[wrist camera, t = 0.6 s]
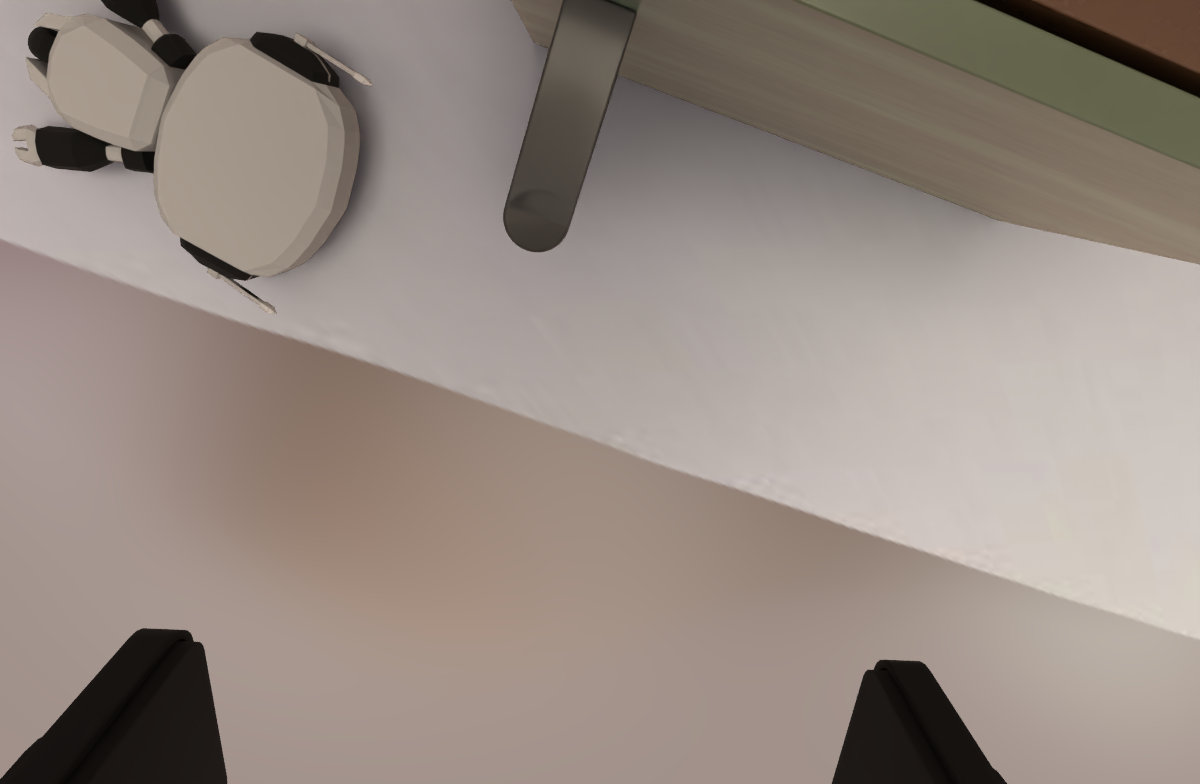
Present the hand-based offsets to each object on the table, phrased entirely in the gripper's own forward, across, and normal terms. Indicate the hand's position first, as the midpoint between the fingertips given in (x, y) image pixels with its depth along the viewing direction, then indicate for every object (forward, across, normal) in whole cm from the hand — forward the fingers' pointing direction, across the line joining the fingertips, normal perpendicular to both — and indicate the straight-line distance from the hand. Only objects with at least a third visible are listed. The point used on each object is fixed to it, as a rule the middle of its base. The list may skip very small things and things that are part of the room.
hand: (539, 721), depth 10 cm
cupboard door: (+29, -10, -6) cm, 31 cm away
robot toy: (+30, +18, -6) cm, 35 cm away
